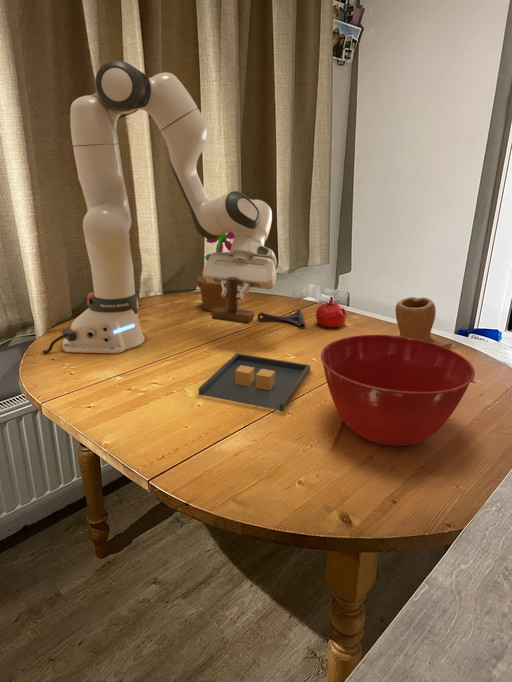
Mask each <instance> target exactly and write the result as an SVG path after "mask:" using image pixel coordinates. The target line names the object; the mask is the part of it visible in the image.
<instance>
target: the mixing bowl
mask: <svg viewBox="0 0 512 682" xmlns="http://www.w3.org/2000/svg"><path fill="white" fill-rule="evenodd" d="M320 361H321V363H322V365H323V370H324V374H325V375H324V376H325V380H326V383H327V387H328V390H329V393H330V396H331V399H332V401H333V404H334V406H335V408H336V410H337V413H338V414H339V416H340V418H341V419H342V421H343V422H344V424H345V425H346V427H348V428H349V430H351V431H352V432H354V434H357V436H359V437H361V438H363V439H364V440H367V441H368V442H371V443H374V444H378V445H381V446H385V447H386V446H387V447H405V446H410V445H414V444H417V443H421V442H422V441H425V440H427V439H428V438H430V437H432V436H433V435H434V434H435V433H437V432H438V430H440V429H441V428H442V426H444V425H445V423H446V422H447V421H448V420H449V418H450V417H451V416H452V414H453V413H454V411H455V410H456V409H457V407H458V406H459V404H460V402H461V401H462V399H463V397H464V395H465V393H466V391H467V390H468V388H469V385H470V384H471V383H472V382H473V381H474V378H475V376H476V370H475V368H474V366H473V364H472V363H471V362H470V361H469V360H468V359H466V357H464V356H463V355H461V354H460V353H458V352H456V351H454V350H452V349H451V348H450V349H448V348H446V347H443V346H440V345H437V344H434V343H431V342H427V341H423V340H419V339H414V338H408V337H402V336H400V335H392V334H361V335H353V336H352V335H351V336H348V337H342V338H339V339H336V340H334V341H332V342H330V343H328V344H327V345H326V346H324V348H322V350H321V352H320Z"/></svg>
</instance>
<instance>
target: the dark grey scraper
mask: <svg viewBox="0 0 512 682" xmlns="http://www.w3.org/2000/svg"><path fill="white" fill-rule="evenodd" d="M304 319H305V318H304V316H303V313H302V309H297V310H296V311H295V312H293V313H291V314H289V315H284V316H283V315H282V316H281V315H274V314H269V313H265V312H264V311H263V312H262V311H261V312H258V314H257V320H258V321H259V322H279V323H280V322H282V323H283V322H285V323H288V322H289V323H291V324H293V325H296V326H297V327H299V328H300V329H305V328H306V324H305V320H304Z"/></svg>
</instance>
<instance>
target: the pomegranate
mask: <svg viewBox="0 0 512 682" xmlns="http://www.w3.org/2000/svg"><path fill="white" fill-rule="evenodd" d="M318 303H322V301H319V302H318ZM323 303H324V304H321V305H320V306H318V307H317V309H316V312H315V320H316V322H317V323H318V325H320V326H322V327H324V328H327V329H328V328H330V329H331V328H334V329H335V328H339V327H341V326H344V325H345V323H346V319H347V314H348V313H347V311H346V309H345V308H344V307H343V303H342V302H340V300H337V301H334V296H331V295H330V296H329V299H328V301H323Z"/></svg>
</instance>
